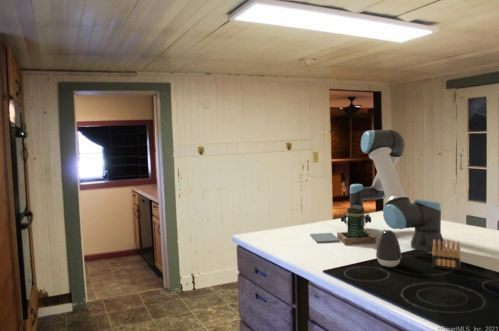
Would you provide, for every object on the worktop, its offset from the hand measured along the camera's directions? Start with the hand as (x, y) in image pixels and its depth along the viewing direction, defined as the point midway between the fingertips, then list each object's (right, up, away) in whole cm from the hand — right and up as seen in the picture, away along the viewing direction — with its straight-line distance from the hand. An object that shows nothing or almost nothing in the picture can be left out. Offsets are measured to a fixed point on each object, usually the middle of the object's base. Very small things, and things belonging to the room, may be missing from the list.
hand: (355, 222), depth 212 cm
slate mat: (-14, -10, +11) cm, 21 cm away
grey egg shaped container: (+5, -13, -35) cm, 38 cm away
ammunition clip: (+27, -13, -42) cm, 51 cm away
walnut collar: (+2, -10, +5) cm, 12 cm away
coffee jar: (+2, -10, +5) cm, 12 cm away
